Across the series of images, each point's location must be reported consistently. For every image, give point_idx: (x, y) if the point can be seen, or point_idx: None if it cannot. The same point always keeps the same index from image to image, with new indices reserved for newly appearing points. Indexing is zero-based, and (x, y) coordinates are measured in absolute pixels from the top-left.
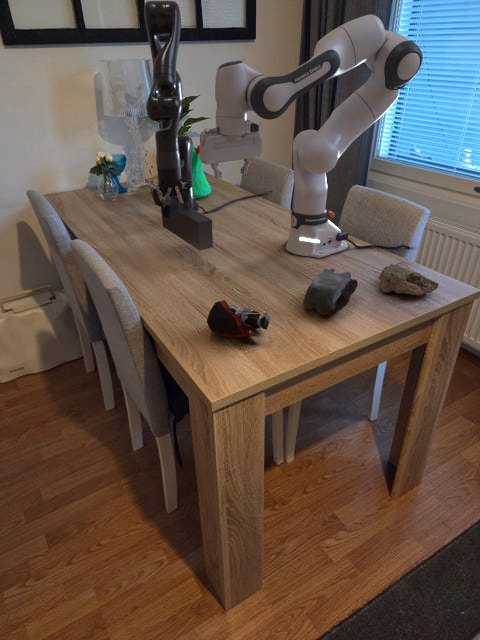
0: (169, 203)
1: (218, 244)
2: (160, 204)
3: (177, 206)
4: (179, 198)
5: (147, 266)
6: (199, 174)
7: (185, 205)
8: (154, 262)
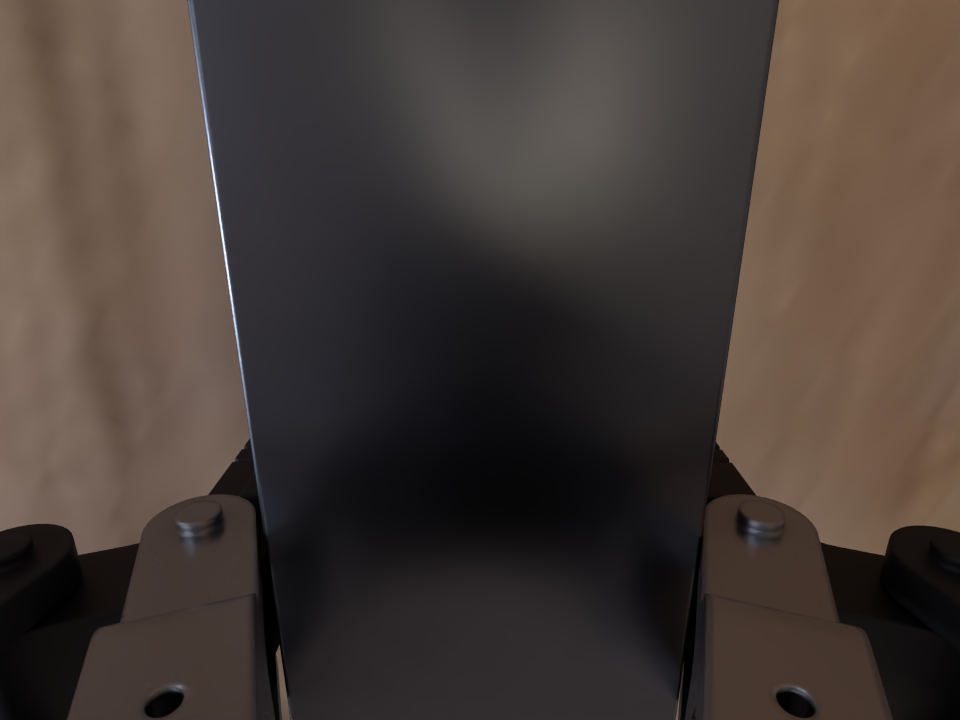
0: (593, 565)
1: (40, 166)
2: (940, 553)
3: (535, 163)
4: (220, 611)
5: (902, 69)
6: None
7: (221, 96)
8: (795, 121)
